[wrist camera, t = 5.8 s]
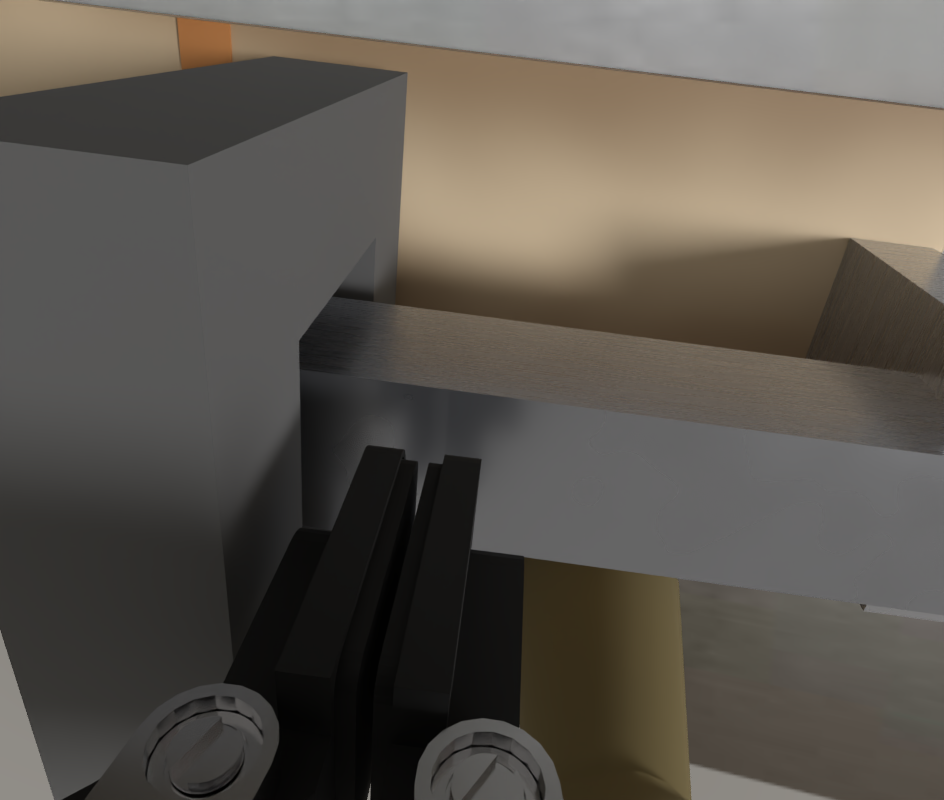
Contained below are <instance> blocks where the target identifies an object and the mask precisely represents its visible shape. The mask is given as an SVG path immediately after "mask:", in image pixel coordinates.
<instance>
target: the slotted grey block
mask: <svg viewBox="0 0 944 800" xmlns="http://www.w3.org/2000/svg"><path fill="white" fill-rule="evenodd" d="M407 77H408V72H399V71H391V70H383V69H375V68H367V67H359V66H350V65H342V64H334V63H326V62H318V61H310V60H302V59H293V58H285V57H277V56H272V57H265V58H258V59H251V60H245V61H238V62H231V63H224V64H218V65H211V66H204V67H197V68H191V69H184V70H177V71H171V72H164V73H157V74H150V75H144V76H137V77H130V78H123V79H117V80H110V81H103V82H96V83H90V84H83V85H76V86H70V87H63V88H56V89H49V90H43V91H36V92H29V93H22V94H16V95H9V96H2V97H0V630H1V633H2V637H3V640H4V643H5V646H6V649H7V652H8V655H9V659H10V662H11V665H12V668H13V671H14V674H15V677H16V681H17V683H18V687H19V690H20V693H21V696H22V699H23V703H24V706H25V709H26V712H27V715H28V718H29V721H30V725H31V727H32V731H33V734H34V737H35V740H36V743H37V746H38V749H39V753H40V756H41V759H42V762H43V765H44V769H45V772H46V775H47V778H48V781H49V784H50V787H51V790H52V793H53V796H54V800H62V799H64V798H66V797H68V796H69V795H71V794H73V793H75V792H77V791H79V790H81V789H82V788H84V787H86V786H88V785H90V784H92V783H94V782H95V781H97V780H99V779H100V778H101V777H102V775H103V774H104V773H105V771H106V770H107V769H108V767H109V766H110V765H111V763H112V762H113V761H114V759H115V758H116V757H117V755H118V754H119V753H120V751H121V750H122V749H123V747H124V746H125V745H126V743H127V742H128V741H129V739H130V738H131V737H132V735H133V734H134V733H135V731H136V730H137V729H138V727H139V726H140V725H141V724H142V723H143V722H144V721H145V719H146V718H147V717H148V716H149V715H150V714H151V713H152V712H153V711H154V710H155V709H156V708H157V707H159V706H160V705H162V704H163V703H165V702H166V701H168V700H169V699H171V698H172V697H174V696H175V695H177V694H179V693H182V692H185V691H187V690H190V689H193V688H195V687H198V686H203V685H211V684H219V683H223V682H224V680H225V678H226V676H227V674H228V671H229V669H230V667H231V665H232V663H233V661H234V659H235V657H236V655H237V653H238V650H239V648H240V646H241V644H242V642H243V640H244V638H245V636H246V634H247V632H248V629H249V627H250V625H251V623H252V621H253V619H254V617H255V615H256V613H257V611H258V608H259V606H260V604H261V602H262V600H263V598H264V596H265V594H266V592H267V590H268V587H269V585H270V583H271V581H272V579H273V577H274V575H275V573H276V571H277V569H278V566H279V564H280V562H281V560H282V558H283V556H284V554H285V552H286V550H287V547H288V545H289V543H290V541H291V539H292V537H293V536H294V534H295V532H296V531H297V530H298V529H299V528H308V529H316V530H324V531H332V530H326V529H319V528H312V527H305V526H302V478H301V423H300V369H299V340H300V339H301V337H302V336H303V335H304V333H305V332H306V331H307V329H308V328H309V327H310V325H311V324H312V323H313V321H314V320H315V318H316V317H317V316H318V314H319V313H320V312H321V310H322V309H323V308H324V306H325V305H326V304H327V302H328V301H329V300H330V298H331V297H339V298H346V299H354V300H362V301H369V302H377V303H385V304H392V305H395V298H396V280H397V261H398V243H399V224H400V206H401V188H402V169H403V151H404V132H405V114H406V95H407Z"/></svg>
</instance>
